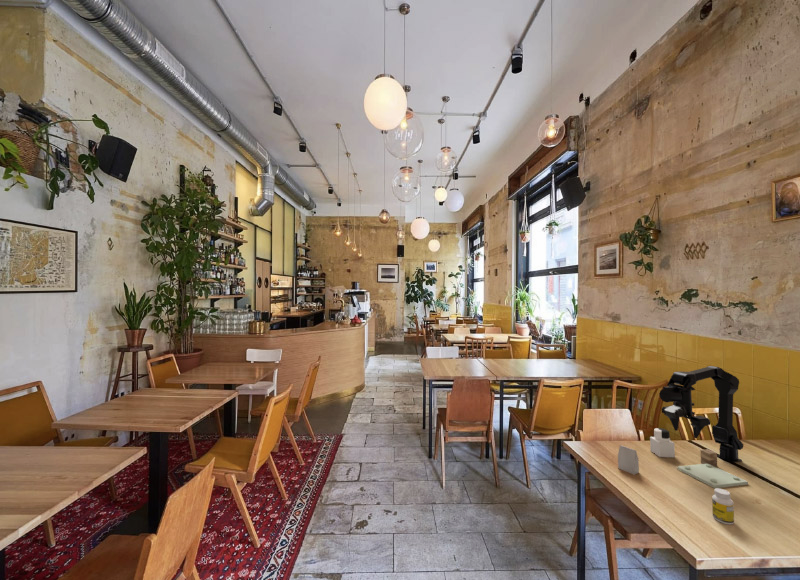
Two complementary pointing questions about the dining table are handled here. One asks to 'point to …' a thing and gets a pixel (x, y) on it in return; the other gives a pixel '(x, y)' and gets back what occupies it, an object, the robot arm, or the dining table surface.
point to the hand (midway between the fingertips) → (685, 434)
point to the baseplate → (712, 475)
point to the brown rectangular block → (709, 457)
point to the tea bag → (628, 460)
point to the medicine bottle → (662, 443)
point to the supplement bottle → (722, 506)
